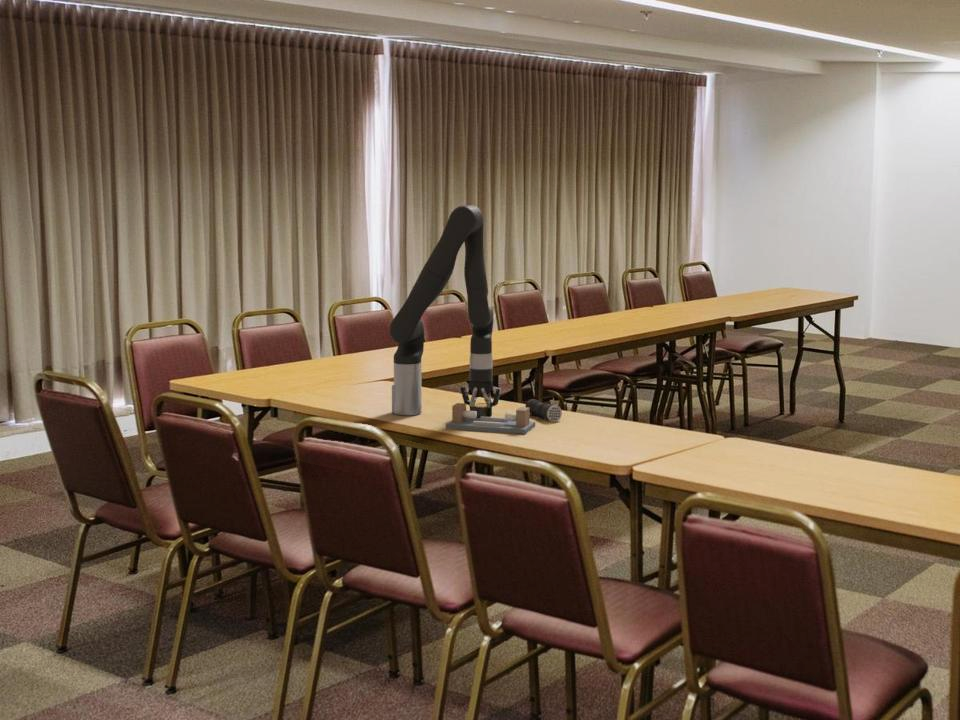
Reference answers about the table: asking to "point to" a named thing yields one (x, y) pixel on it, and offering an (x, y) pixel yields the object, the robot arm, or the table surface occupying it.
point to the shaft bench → (490, 421)
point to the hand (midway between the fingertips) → (480, 417)
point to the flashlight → (544, 410)
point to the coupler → (479, 409)
